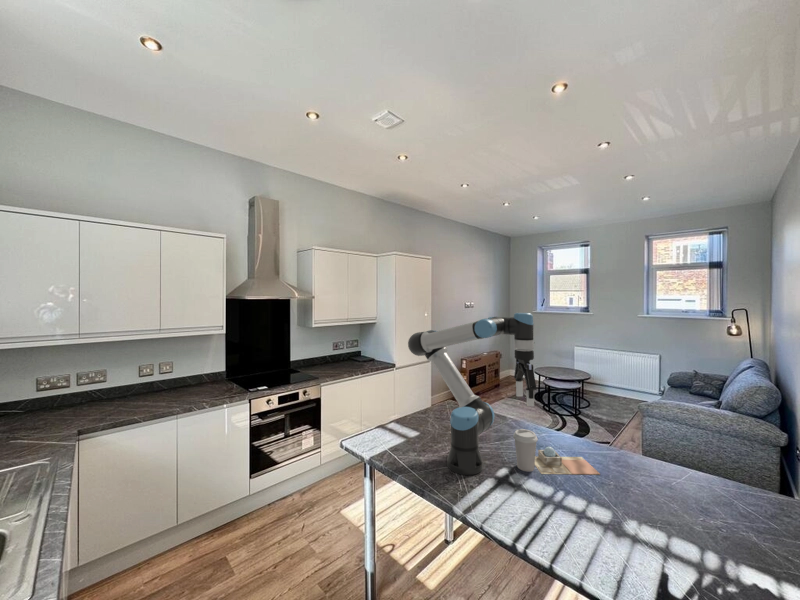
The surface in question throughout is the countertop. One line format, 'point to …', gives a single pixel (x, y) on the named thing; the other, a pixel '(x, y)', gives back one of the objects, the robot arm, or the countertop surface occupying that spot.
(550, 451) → the dome
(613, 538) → the countertop surface
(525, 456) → the coffee cup
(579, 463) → the board
